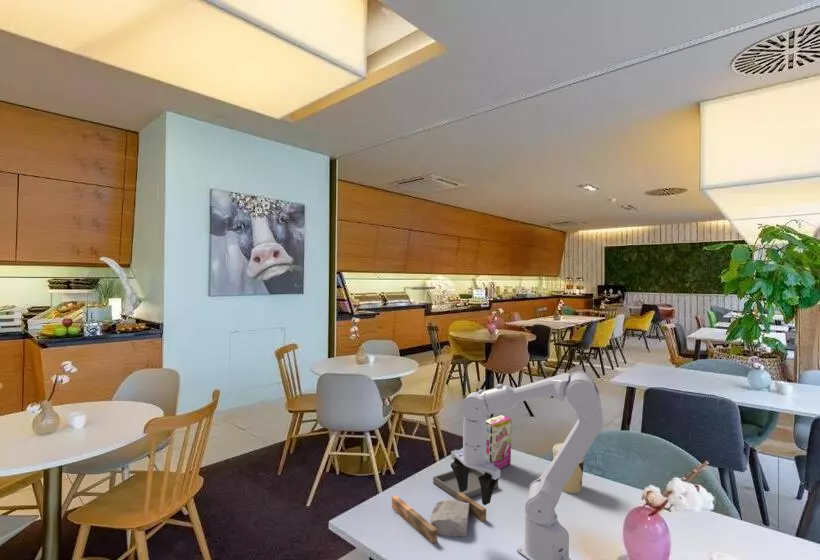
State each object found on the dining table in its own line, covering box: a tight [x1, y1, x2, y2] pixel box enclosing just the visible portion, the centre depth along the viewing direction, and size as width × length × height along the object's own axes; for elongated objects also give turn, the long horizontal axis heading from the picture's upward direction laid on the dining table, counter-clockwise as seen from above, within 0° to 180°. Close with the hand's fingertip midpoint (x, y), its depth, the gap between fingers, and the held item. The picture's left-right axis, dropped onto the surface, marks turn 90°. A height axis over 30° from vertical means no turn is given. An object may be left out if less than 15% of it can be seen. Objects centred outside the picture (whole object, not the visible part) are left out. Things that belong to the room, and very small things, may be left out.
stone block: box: [430, 499, 470, 538], centre depth 109 cm, size 12×5×10 cm
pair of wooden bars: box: [391, 492, 487, 544], centre depth 113 cm, size 19×18×3 cm
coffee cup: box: [552, 442, 585, 494], centre depth 128 cm, size 9×9×12 cm
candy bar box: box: [486, 414, 513, 470], centre depth 142 cm, size 11×5×16 cm, turn 130°
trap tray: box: [432, 468, 499, 500], centre depth 129 cm, size 13×15×2 cm
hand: (474, 496), depth 103 cm, fingers open, 7 cm apart
